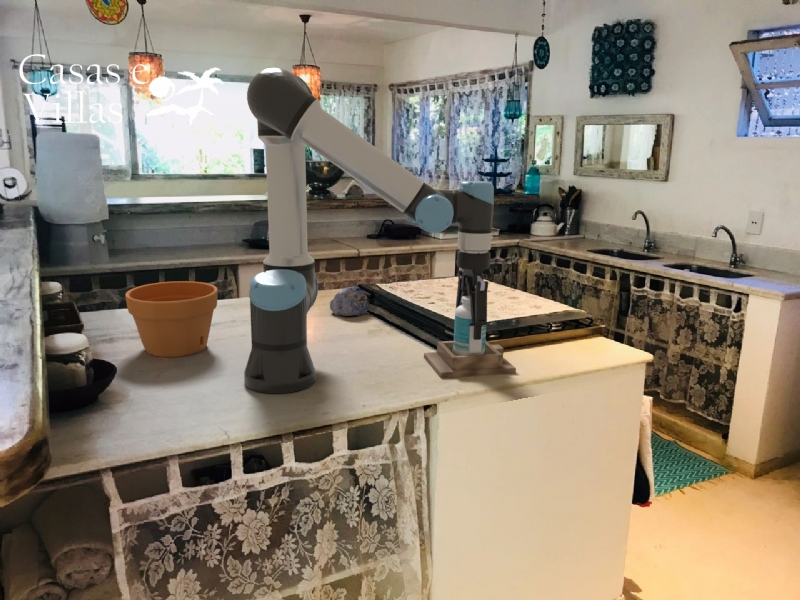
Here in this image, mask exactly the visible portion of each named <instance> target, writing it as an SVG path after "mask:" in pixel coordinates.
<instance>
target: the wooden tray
mask: <svg viewBox="0 0 800 600" xmlns="http://www.w3.org/2000/svg"><path fill="white" fill-rule="evenodd" d="M453 344H454V340H449V341H447V340H446V341H445V340H444V341H437V344H436V345H437V346H436V348H437V349H436V351H435V352H434V351H433V352H424V353H423V358H424V359H425V361H426V362H427V363H428V364H429V366H430V367H431V368H432V369H433V370H434V372H435V373H436V374H437V375H438V377H439V378H443V377H444V378H456V377H458V378H459V377H472V376H473V377H474V376H489V375H490V376H491V375H505V374H506V375H507V374H516V372H517V371H516V369H517V368H516V366H514V365H513V364H512V363H510V361H508V360H507V359H506V358H504V347H503V346H501V345H500V344H491V343H489V342H488V341H487V339H486V340H485V352H484V354H483V355H465V356H460V355H457V354H453V353H452V352H451V350H452V349H453Z"/></svg>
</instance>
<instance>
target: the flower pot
mask: <svg viewBox="0 0 800 600" xmlns="http://www.w3.org/2000/svg"><path fill="white" fill-rule="evenodd" d="M218 291H219V290H218V287H217V286H215V285H214V284H210V283H207V282H201V281H200V282H199V281H187V280H185V281H184V280H183V281H179V280H178V281H165V282H163V281H162V282H156V283H147V284H143V285H140V286H139V285H138V286H136V287H134V288H132V289H129V290H127V291H126V293H125V302H126V308H127V312H128V313H129V314H130V315H132V317H133V321H134V322H135V326H136V329H137V332H138V335H139V338H140V340H141V342H142V343H141V344H142V346H143V348H144V350H145V352H146V353H147V354H148V355H152V356H155V357H160V358H178V357H186V356H191V355H194V354H197V353H199V352H201V351H203V350H204V349H206V348H207V345H208V341H209V338H210V337H209V336H210V331H211V325H212V320H213V316H214V310H215V309H216V308H217V306H218Z"/></svg>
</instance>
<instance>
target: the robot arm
mask: <svg viewBox="0 0 800 600" xmlns="http://www.w3.org/2000/svg"><path fill="white" fill-rule="evenodd" d="M246 100H247V105H248V109H249V110H250V112H251V114H252V115H253V117H254V118H255V119H256V120H257V121H256V122H257V138H258V139H260V141H261V142H262V143H263V144H264V145H265V167H266V168H265V169H266V189H267V193H266V195H267V218H268V219H267V220H268V237H269V238H268V247H269V253H268V255H267V256H266V257H264V259H263V261H262V265H263V267H262V268H263V271H262V272H259V273H257V274H255V275H254V276H253V277H252V278H251V280H250V282H249V290H248V295H249V296H248V297H249V306H250V307H249V309H250V310H249V311H250V333H251V334H250V335H251V336H250V337H251V349H250V352H249V355H248V359H247V361H246V366H245V369H244V373H243V374H244V376H243V377H244V378H243V380H244V386H246V387H247V388H248V389H250V390H251V391H255V392H258V393H264V394H288V393H295V392H299V391H302V390H305V389H307V388H310V387H311V386H312V385H314V383H315V382H316V368H315V366H314V363H313V360H312V357H311V354H310V351H309V348H308V337H307V336H308V330H307V329H308V328H307V325H308V323H307V315H308V313H309V311H311V308H312V307H313V306H314V305H315V302H316V300H317V297H318V294H319V283H318V280H317V277H316V273H315V272H316V271H315V270H316V268H315V267H316V266H315V258H313V256H311V255H310V254H309V252H308V251H309V250H308V213H307V212H308V211H307V208H308V207H307V178H306V177H307V173H306V170H307V168H306V167H307V165H306V162H307V161H306V146H308V148H310V149H312V150H313V151H315V153H317V154H319V155H320V156H321V157H323V158H324V159H326V160H328V161H329V162H331V163H332V164H333V165H335V166H336V167H338V168H339V169H340V170H342V171H343V172H344V173H346V174H347V175H349V176H350V177H352V178H353V179H354V180H356V181H357V182H359V183H360V184H361V185H363V186H364V187H365V188H367V189H369V190H370V191H371V192H373V193H374V194H376V195H377V196H378V197H380V198H381V199H383V200H385V202H387V203H388V204H389V205H392V206H393V207H395V208H396V209H397V210H399V211H400V212H402V213H403V214H404V215H405V219H406V221H407V222H409V223H414V224H417V225H418V227H420V228H421V229H422V230H423V231H425V232H426V233H427V232H428V233H431V234H438V233H441V232H443V231H445V230H446V229H447V228H449V227H450V226H451V224H452V225H455V224H458V230H457V249H458V251H456V252H457V253H456V254H457V255H456V266H457V267H458V268H460V270H458V272H457V275H458V277H457V278H458V279H457V291H456V300H455V309H456V308H457V307H459V306H461V305H462V302H461V301H462V297H463V296H470V304H471V317H472V323H470V324H469V326H470V337H469V353H478V352H481V343H482V326H483V325H486V326H487V324H488V290H489V281H488V280H484V277H483V276H484V274H483V271H484V270H488V269H490V268H491V267H490V266H491V256H492V255H491V252H490V250H491V249H492V241H493V239H494V236H493V234H492V232H493V219H494V205H495V202H494V200H495V199H494V196H495V194H494V193H495V189H494V188H495V187H494V185H493V183H491V182H489V181H484V180H483V181H482V180H464V181H461V182H460V187H459V189H453V190H452V189H436V188H435V189H434V188H433V187H432V186H430V185H428V183H425V182H424V180H422V179H420V178H419V177H417V176H416V175H415V174H414V173H412V172H411V171H409V170H408V169H406V168H405V167H403V166H402V164H400V163H398V162H397V161H395V160H394V159H393V158H391V157H390V156H388V155H387V153H385V152H384V151H381V149H378V148H377V147H376V146H375V145H373V144H372V143H370V142H369V141H367V140H366V139H365V138H363V137H362V136H361V135H359V134H358V133H356V132H355V131H354V130H352V129H351V128H349V127H348V126H347V125H345V124H344V123H342V122H341V121H339V120H338V119H337V118H336V117H334V116H333V115H332V114H331V113H329V112H327V111H326V110H325V109H323V108H322V107H321V102H320V101H321V100H319V99H318V98H317V97H315V96H314V95H313V92H312V90H311V88H310V87H309V85H308V84H307V83H306V81H305V80H303V78H301V77H300V76H298V75H296V74H294V73H292V72H290V71H288V70H286V69H284V68H281V67H280V68H279V67H270V68H265V69H263V70H260V71H259V72H258V73H257V74H255V75H254V76H253V78H252V79H251V81H250V82H249V85H248V87H247V92H246ZM461 269H462V270H461Z"/></svg>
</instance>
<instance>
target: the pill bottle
mask: <svg viewBox="0 0 800 600" xmlns="http://www.w3.org/2000/svg"><path fill="white" fill-rule="evenodd" d="M461 302H462V305H461V306H459V307H457V308H456V307H455V311H454V313H455V314H454V326H453V327H454V329H453V341H454V344H453V350H454V352H455V353H456V354H457V355H460V356H465V355H483V354H484V352H485V340H486V341H487V339H486V338H487V337H486V336H487V335H486V334H487V325H483V326H482V343H481V352H478V353H469V337H470V326H469V324H470V323H472V317H471V304H470V296H463V297H462V301H461Z"/></svg>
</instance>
